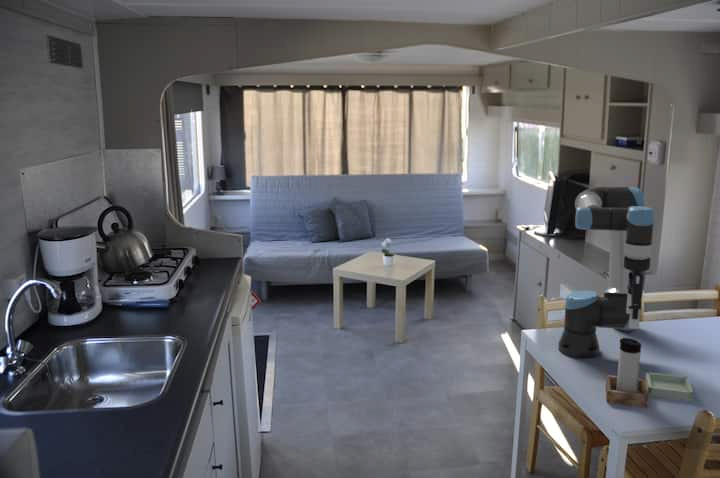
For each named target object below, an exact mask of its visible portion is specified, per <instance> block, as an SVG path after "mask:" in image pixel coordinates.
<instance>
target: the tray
mask: <svg viewBox="0 0 720 478" xmlns="http://www.w3.org/2000/svg"><path fill="white" fill-rule="evenodd" d="M644 380H645V382H646V387H647V392H648V397H654V398H655V397H656V398H661V397H663V398H664V399H669V398H670V400H671V399H672V400H677V399H679V400H678V401H685V402H686V401H687V402H693V400H694V391H693V388H692V385H691V382H690V379H689V377H688V376H684V375H675V374H668V373H667V374H666V373H658V372H649V371H645V374H644Z"/></svg>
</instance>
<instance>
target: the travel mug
mask: <svg viewBox="0 0 720 478" xmlns="http://www.w3.org/2000/svg"><path fill="white" fill-rule="evenodd" d="M641 349H642V343H641V342H640V341H638V340H636V339H633V338H629V337H622V338H620V339H619V351H618V353H619V354H618V367H617V375H616V376H617V388H615V389H616V390H615V391H622V392H630V393H638V391H637V387H638V379H639V373H640V363H641V352H642V350H641Z"/></svg>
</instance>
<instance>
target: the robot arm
mask: <svg viewBox="0 0 720 478" xmlns="http://www.w3.org/2000/svg"><path fill="white" fill-rule="evenodd" d="M644 198H645V197H644V194H643V192H642V190H641V189H640V188H638V187H631V186H630V187H629V186H595V187H590V188H588V189H585V190H583V191H582V192H579V194H578V195H577V196H576V197H575V199H574V200H575V201H574V208H575V220H574V221H575V223H574V225H575V228H576V229H578V230H585V231H588V230H589V231H592V230H593V231H609V232H610V233H609V234H610V236H609V237H610V238H609V258H608V259H609V267H608V288H607V289H605V291H604V292H603V296H599V293H597V292H596V291H593V290H577V291H572V292H570V293H569V294H568V295H566V298H565V304H564V323H563V330H562V333H561V335H560V339H559V340H558V344H557V345H558V347H557V348H558V351H559V352H561V353H562V354H564V355H566V356H569V357H573V358H578V359H579V358H580V359H590V358H594V357H597V356H598V355H599V354H600V344H599V340H598V336H597V333H596V332H597V328H603V329H604V328H605V329H613V330H615V329H616V330H620V329H622V330H624V329H630V330H632V329H634V330H639V327H640V320H641V314H642V308H643V306H642V305H643V303H642V301H643V300H642V299H641V294H642V281H643V276H642V274H641V272H642V271H645V272H646V271H649V270H650V269H651V258H650V257H651V256H652V255H651V254H652V251H653V250H654V249H655V248H654V246H652V244H653V235H654V233H653V232H654V225H655V209H654V208H652V207H649V206H645V199H644ZM642 295H643V294H642ZM622 330H621V331H622Z"/></svg>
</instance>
